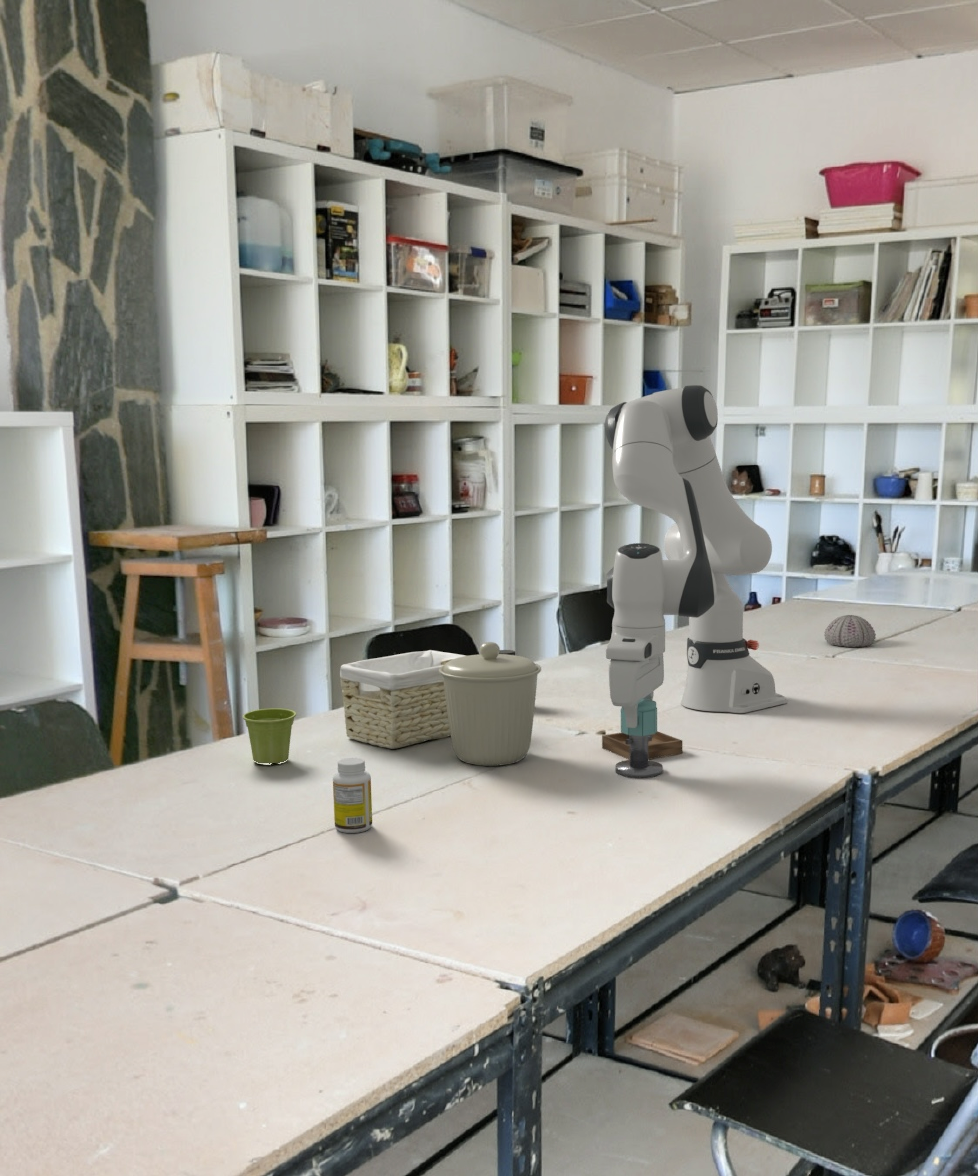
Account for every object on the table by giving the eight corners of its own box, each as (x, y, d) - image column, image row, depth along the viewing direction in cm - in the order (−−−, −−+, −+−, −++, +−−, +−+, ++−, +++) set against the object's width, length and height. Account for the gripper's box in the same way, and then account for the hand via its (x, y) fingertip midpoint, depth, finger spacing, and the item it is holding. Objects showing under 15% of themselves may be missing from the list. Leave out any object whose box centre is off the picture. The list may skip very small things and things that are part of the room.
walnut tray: (649, 740, 224) (649, 728, 224) (682, 753, 215) (682, 740, 215) (602, 748, 220) (602, 735, 219) (633, 761, 210) (633, 748, 210)
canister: (474, 778, 201) (472, 655, 199) (422, 755, 217) (419, 640, 214) (562, 761, 211) (561, 643, 208) (506, 740, 226) (504, 630, 223)
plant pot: (307, 756, 217) (305, 710, 216) (281, 770, 208) (279, 721, 207) (261, 753, 220) (259, 707, 219) (234, 766, 211) (232, 718, 210)
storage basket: (429, 717, 246) (427, 647, 244) (485, 730, 235) (484, 656, 233) (337, 740, 229) (335, 664, 227) (393, 754, 218) (391, 675, 216)
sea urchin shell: (867, 651, 312) (868, 620, 311) (816, 646, 320) (817, 616, 319) (881, 643, 323) (882, 613, 322) (831, 639, 331) (832, 610, 330)
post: (645, 762, 209) (645, 701, 208) (672, 773, 202) (672, 710, 201) (606, 769, 206) (606, 706, 204) (632, 780, 199) (632, 715, 197)
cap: (643, 725, 207) (643, 697, 206) (663, 732, 202) (663, 703, 201) (615, 729, 204) (615, 701, 204) (634, 737, 199) (634, 707, 199)
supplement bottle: (354, 819, 181) (352, 753, 180) (380, 827, 177) (378, 759, 176) (326, 829, 177) (324, 761, 175) (352, 837, 173) (350, 768, 172)
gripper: (637, 630, 212) (638, 707, 214) (602, 650, 193) (602, 734, 195) (672, 632, 209) (672, 710, 211) (640, 652, 191) (640, 737, 193)
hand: (638, 721), depth 203 cm, fingers closed on cap, 6 cm apart
